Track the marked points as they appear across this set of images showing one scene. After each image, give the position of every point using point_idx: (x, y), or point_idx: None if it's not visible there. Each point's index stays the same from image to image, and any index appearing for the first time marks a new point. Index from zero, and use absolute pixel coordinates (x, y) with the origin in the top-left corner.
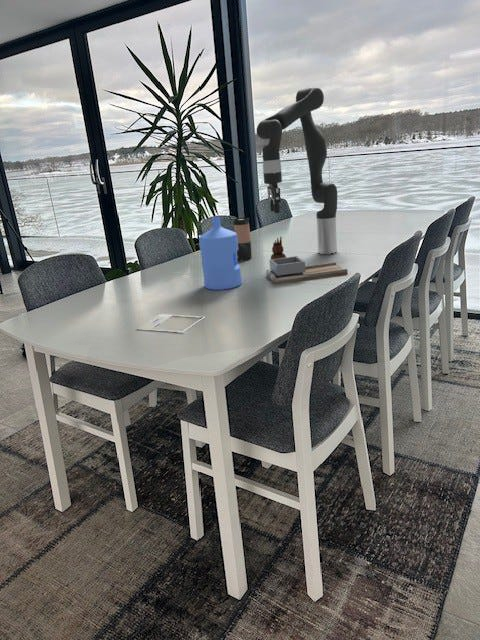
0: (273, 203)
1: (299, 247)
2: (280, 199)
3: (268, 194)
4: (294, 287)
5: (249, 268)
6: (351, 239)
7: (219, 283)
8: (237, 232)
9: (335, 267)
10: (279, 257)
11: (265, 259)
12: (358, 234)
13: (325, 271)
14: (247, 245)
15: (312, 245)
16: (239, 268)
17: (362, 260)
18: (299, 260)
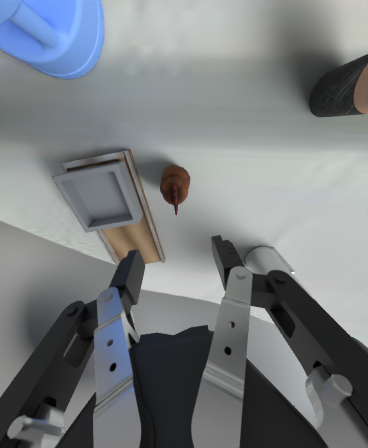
0: (221, 277)
1: (331, 224)
2: (76, 345)
3: (244, 329)
4: (47, 196)
5: (216, 107)
6: (315, 287)
7: None
8: None
9: (145, 258)
10: (161, 188)
11: (282, 153)
12: (337, 296)
13: (125, 245)
14: (344, 100)
15: (326, 243)
16: (22, 60)
17: (188, 284)
18: (105, 224)
